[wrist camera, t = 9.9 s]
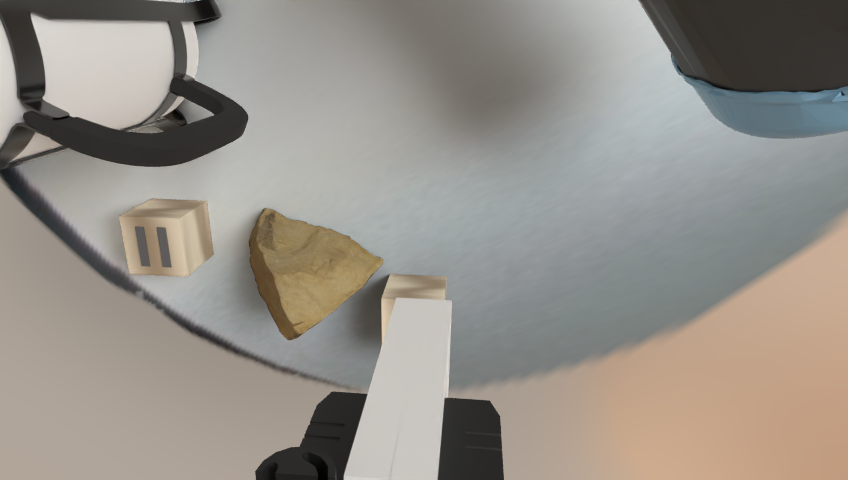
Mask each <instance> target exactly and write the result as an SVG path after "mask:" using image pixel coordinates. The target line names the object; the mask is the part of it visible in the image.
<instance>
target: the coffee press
mask: <svg viewBox="0 0 848 480" xmlns="http://www.w3.org/2000/svg"><path fill="white" fill-rule="evenodd" d="M221 17H222V15H221V13H220V11H219V9H218V6H217V4H216V2H215V0H200V1H195V2H190V3H184V2H183V1H182V0H0V170H4V169H7V168H11V167H14V166H17V165H20V164H24V163H27V162H30V161H34V160H37V159H40V158H43V157H47V156H50V155H53V154H57V153H60V152H63V151H67V150H70V149H72V150H75V151H77V152H80V153H83V154H86V155H89V156H92V157H95V158H99V159H102V160H106V161H110V162H115V163H120V164H126V165H133V166H145V167H161V166H172V165H177V164H182V163H185V162H188V161H191V160H193V159H196V158H198V157H201V156H203V155H205V154H208V153H210V152H212V151H214V150H216V149H218V148H220V147H223V146H225V145H227V144H229V143H231V142H233V141H235V140H236V139H238V138H239V137H241V136H242V134H243V133H244V130H245V127H246V124H247V121H248V115H247V113H246V111H245V110H244V109H243V108H242V107H241V106H240V105H239V104H237V103H236V102H234V101H233V100H231V99H230V98H228V97H226V96H225V95H223V94H221V93H219V92H217V91H215V90H213V89H211V88H210V87H208V86H205V85H203V84H201V83H199V82H197V81H195V76H196V72H197V68H198V60H199V46H198V39H197V34H196V30H195V26H197V25H201V24H204V23H208V22H211V21H214V20H217V19H219V18H221ZM185 98H186V99H188V100H190V101H192V102H194V103H196V104H198V105H200V106H202V107H203V108H205V109H207V110H209V111H210V112H212V113H213V114H215V115H214V116H211V117H208V118H205V119H202V120H199V121H196V122H193V123H190V124H187V121H186V119H185V117H184V116H183V114H182V113H181V112H179V111H178V110H177V109H176V107H177V106H178V105H179V104H180V103H181V102H182V101H183V100H184V99H185ZM163 116H164V117H165V118H166V119H160V120H157V119H158V118H160V117H163ZM155 120H156V121H155ZM140 124H141V125H140ZM137 125H139V126H137ZM134 126H135V127H134ZM148 126H155V127H158V128H159V129H161V130H163V131H164V132H161V133H134V132H130V131H133V130H136V129H140V128H144V127H148ZM130 127H132V128H130ZM127 128H128V129H127ZM123 129H125V130H123ZM62 147H63V148H62ZM59 148H60V149H59ZM56 149H57V150H56ZM52 150H53V151H52ZM49 151H50V152H49ZM45 152H46V153H45ZM42 153H43V154H42ZM38 154H40V155H38ZM35 155H36V156H35ZM32 156H33V157H32ZM28 157H29V158H28ZM25 158H26V159H25ZM21 159H23V160H21ZM18 160H19V161H18ZM15 161H16V162H15ZM11 162H13V163H11ZM8 163H10V164H8Z"/></svg>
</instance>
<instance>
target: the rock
mask: <svg viewBox="0 0 848 480" xmlns="http://www.w3.org/2000/svg"><path fill="white" fill-rule="evenodd" d="M249 246H250V254H251V257H250V264H251V268H252V270H253V272H254V275H255V281H256V282H257V286H258V290H259V293H260V296H261V297H262V298H263V300H264V301H265V302H266V304H267V306H268V309H269V311H270V313H271V315H272V317H273V319H274V321H275V323H276V324H277V326H278V329H279V331H280V332H281V333H282V335H283V336H284V337H286V338H287V340H292V339H296V338H298V337H299V336H301V335H302V334H303V333H305V332H306V331H307V330H309V329H310V328H312V327H313V326H315V325H316V324H318V323H319V322H321V321H322V320H323V319H324V318H325V317H326V316H328V315H329V314H330V313H332V312H333V311H334V310H336V309H337V308H338V307H339V306H340V305H341V304H342V303H343V302H344V301H346V300H347V299H348V298H349V297H350V296H352V295H353V294H354V293H355V292H357V291H358V290H359V289H361V288H362V287H363V286H364V285H365V284H366V282H367V281H368V280H369V279H370V277H371V276H372V275H373V274H374V273H375V272H376V271H377V269H378V268H379V267H380V266H382V265H383V260H382V258H380V257H375V256H373V255H372V254H370V253H369V252H368V251H367V250H365V249H363V248H362V247H361V246H360V245H359V244H358V243H356V242H355V241H353V240H352V239H351V238H350V237H349V236H346V235H342V234H340V233H337V232H335V231H333V230H331V229H326V228H323V227H320V226H316V227H315V226H313V225H309V224H307V223H306V222H302V221H297V220H290V219H287V218H286V217H284V216H283V215H281V214H279V213H277V212H276V211H274V210H271V209H267V208H265V209H264V210H263V212H262V214H261V215H260V217H259V219H258V220H257V223H256V225H255V227H254V229H253V231H252V234H251V237H250V240H249Z"/></svg>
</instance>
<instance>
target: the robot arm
mask: <svg viewBox="0 0 848 480" xmlns="http://www.w3.org/2000/svg"><path fill="white" fill-rule="evenodd" d="M638 1H639V2H640V4H641V5H642V7H643V9H644V10H645V12H646V14H647V15H648V17H649V18H650V20H651V22H652V23H653V25H654V27H655V28H656V30H657V31H658V33H659V35H660V36H661V38H662V39H663V41H664V43H665V44H666V46H667V48H668V49H669V51H670V52H671V59H672V62H673V65H674V67H675V69H676V71H677V72H678V74H679V75H681V76H682V77H683V78H684V80H685V81H686V82H687V83H689V84H690V85H692V86H693V87H694V89H695V90H696V92H697V93H698V94H699V96H700V97H701V99H702V100H703V102H704V103H705V105H706V106H707V107H708V109H709V110H710V112H711V113H712V114H713V115H714V116H715V117H716V118H717V119H718V120H719V121H721V122H722V123H723V124H725V125H726V126H727V127H730V128H732V129H733V130H735V131H738V132H741V133H745V134H748V135H752V136H757V137H764V138H779V139H789V138H806V137H815V136H822V135H829V134H835V133H840V132H844V131H848V0H638ZM451 310H452V301H451V300H432V299H414V298H396V300H395V303H394V307H393V310H392V314H391V317H390V320H389V324H388V327H387V331H386V334H385V337H384V341H383V344H382V348H381V351H380V354H379V358H378V361H377V364H376V368H375V371H374V375H373V378H372V381H371V385H370V388H369V392H368V394H360V393H346V392H331V393H330V394H329V395H328V396H327V397H326V398H324V399H323V400H322V401H321V402H320V403H319V404H318V405H317V407H316V409H315V411H314V414H313V416H312V419H311V421H310V425H309V426H308V428H307V431H306V433H305V437H304V438H303V440H302V442H301V445H300V447H291V448H288V449H285V450H282V451H279V452H276V453H274V454H273V455H272V456H270V457H268V458H267V459H265V460H264V461H263V462H262V464H261V465H260V466H259V467H258V469H257V470H256V471H255V472H256V480H504V474H503V459H502V443H501V442H502V441H501V425H500V416H499V414H498V413H497V411H496V410H495V408H494V407H493V405H492V404H491V402H490V401H486V400H472V399H458V398H448V385H449V360H450V335H451Z"/></svg>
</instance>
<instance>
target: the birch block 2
mask: <svg viewBox="0 0 848 480" xmlns="http://www.w3.org/2000/svg"><path fill="white" fill-rule="evenodd" d="M396 298H414V299H432V300H446V277H443V276H420V275H398V274H390V276H389V278H388V281H387V284H386V287H385V290H384V293H383V295H382V298H381V311H382V344H383V341H384V337H385V334H386V331H387V327H388V324H389V320H390V317H391V314H392V310H393V307H394V303H395V300H396Z"/></svg>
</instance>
